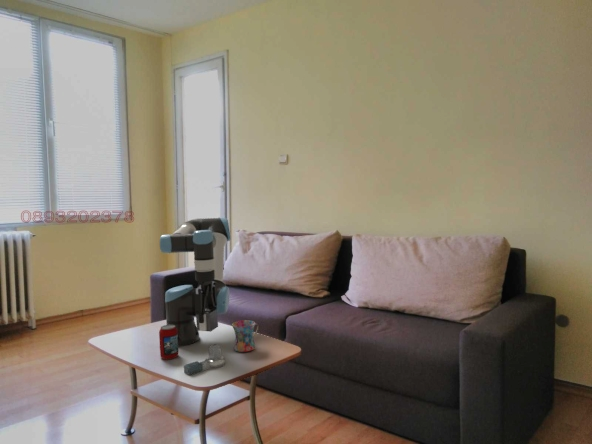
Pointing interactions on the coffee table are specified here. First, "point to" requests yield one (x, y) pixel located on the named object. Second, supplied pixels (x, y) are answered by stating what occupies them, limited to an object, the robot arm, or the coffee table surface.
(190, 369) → the faucet
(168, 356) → the beverage can
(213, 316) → the cube with silver knob
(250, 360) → the coffee table surface
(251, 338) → the mug
